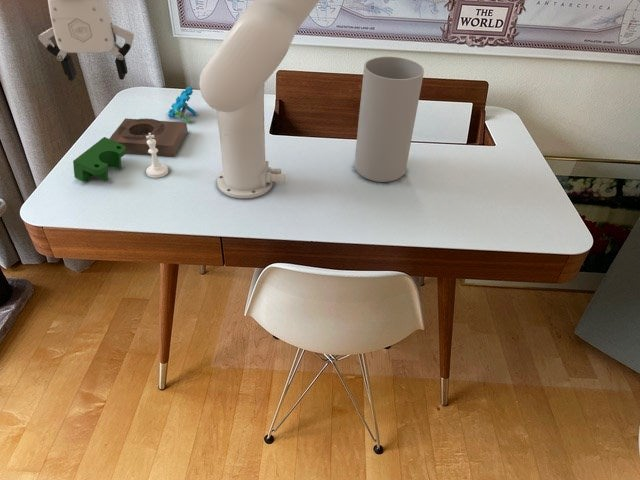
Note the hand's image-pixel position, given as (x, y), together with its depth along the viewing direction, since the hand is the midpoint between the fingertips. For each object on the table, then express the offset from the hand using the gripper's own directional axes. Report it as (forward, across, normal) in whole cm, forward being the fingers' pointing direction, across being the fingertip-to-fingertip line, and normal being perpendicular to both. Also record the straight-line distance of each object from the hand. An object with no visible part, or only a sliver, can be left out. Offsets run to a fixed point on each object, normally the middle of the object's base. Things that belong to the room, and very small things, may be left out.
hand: (98, 77), depth 98 cm
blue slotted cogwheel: (+23, +11, +27) cm, 37 cm away
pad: (+22, +4, +13) cm, 26 cm away
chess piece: (+23, +8, -1) cm, 24 cm away
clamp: (+22, -4, 0) cm, 23 cm away
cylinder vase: (+23, +60, -3) cm, 65 cm away
